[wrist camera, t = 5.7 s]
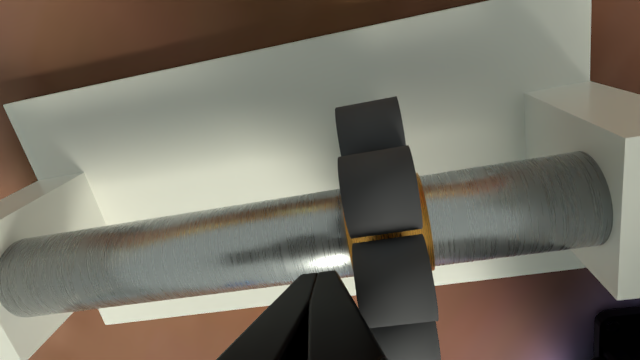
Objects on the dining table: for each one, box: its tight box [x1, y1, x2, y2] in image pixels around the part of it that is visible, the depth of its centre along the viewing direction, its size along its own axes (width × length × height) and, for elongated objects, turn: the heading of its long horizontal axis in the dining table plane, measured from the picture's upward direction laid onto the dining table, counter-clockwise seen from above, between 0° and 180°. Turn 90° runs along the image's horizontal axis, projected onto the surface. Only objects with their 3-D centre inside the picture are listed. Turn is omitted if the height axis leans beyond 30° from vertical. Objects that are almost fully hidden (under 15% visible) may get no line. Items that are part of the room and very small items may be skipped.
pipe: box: [0, 151, 613, 318], centre depth 12 cm, size 18×3×3 cm, turn 102°
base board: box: [0, 0, 640, 360], centre depth 13 cm, size 20×10×6 cm, turn 102°
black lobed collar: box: [335, 96, 441, 360], centre depth 11 cm, size 2×7×7 cm, turn 12°
